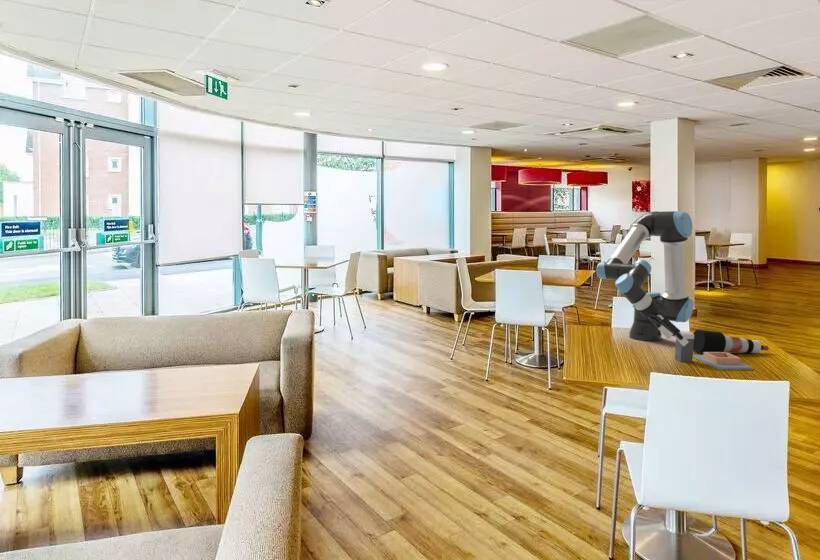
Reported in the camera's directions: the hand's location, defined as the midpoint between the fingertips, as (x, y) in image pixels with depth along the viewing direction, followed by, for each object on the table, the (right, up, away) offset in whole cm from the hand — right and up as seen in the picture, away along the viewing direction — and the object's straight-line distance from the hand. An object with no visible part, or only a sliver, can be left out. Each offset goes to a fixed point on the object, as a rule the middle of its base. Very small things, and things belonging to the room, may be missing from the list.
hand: (677, 340), depth 234 cm
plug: (+3, -9, +2) cm, 10 cm away
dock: (+17, -9, -2) cm, 20 cm away
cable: (+32, -8, +16) cm, 37 cm away
